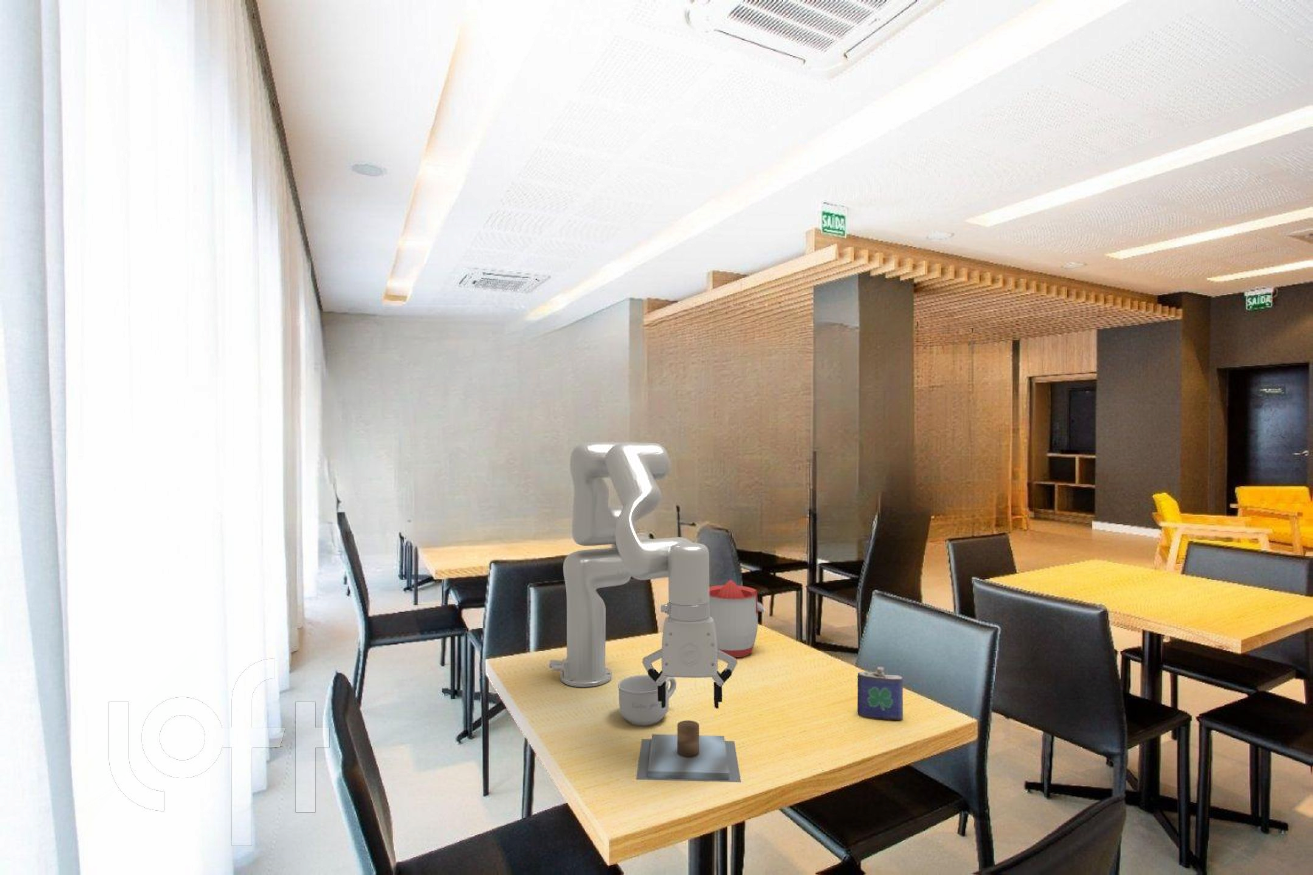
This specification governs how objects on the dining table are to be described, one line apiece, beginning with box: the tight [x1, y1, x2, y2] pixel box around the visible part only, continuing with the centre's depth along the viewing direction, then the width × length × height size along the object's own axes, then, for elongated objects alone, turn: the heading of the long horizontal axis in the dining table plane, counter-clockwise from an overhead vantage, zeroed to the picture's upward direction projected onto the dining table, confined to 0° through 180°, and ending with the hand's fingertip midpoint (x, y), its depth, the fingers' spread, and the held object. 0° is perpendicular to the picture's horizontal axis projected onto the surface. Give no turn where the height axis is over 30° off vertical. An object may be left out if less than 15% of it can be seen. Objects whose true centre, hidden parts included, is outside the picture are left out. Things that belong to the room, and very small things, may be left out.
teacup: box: [617, 674, 677, 726], centre depth 136 cm, size 14×11×8 cm
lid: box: [648, 719, 729, 780], centre depth 118 cm, size 14×14×6 cm
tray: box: [635, 738, 742, 783], centre depth 118 cm, size 18×15×1 cm
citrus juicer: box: [709, 579, 766, 658], centre depth 179 cm, size 16×17×20 cm
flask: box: [857, 666, 904, 722], centre depth 137 cm, size 9×3×11 cm, turn 74°
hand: (689, 705), depth 118 cm, fingers open, 9 cm apart
